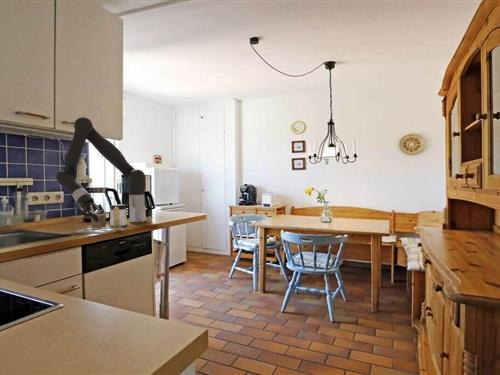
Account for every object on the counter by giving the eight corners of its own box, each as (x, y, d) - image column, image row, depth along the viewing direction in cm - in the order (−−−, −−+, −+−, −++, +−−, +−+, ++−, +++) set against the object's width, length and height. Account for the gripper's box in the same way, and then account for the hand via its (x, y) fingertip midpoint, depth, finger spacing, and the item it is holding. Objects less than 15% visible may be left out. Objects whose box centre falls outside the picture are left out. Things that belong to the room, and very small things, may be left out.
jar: (112, 226, 184) (111, 205, 183) (109, 224, 191) (108, 204, 190) (128, 225, 189) (127, 204, 188) (125, 223, 196) (124, 204, 195)
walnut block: (98, 226, 179) (97, 214, 179) (105, 226, 177) (105, 214, 177) (91, 227, 174) (91, 215, 174) (98, 228, 172) (98, 215, 172)
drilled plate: (88, 230, 172) (88, 228, 172) (114, 231, 167) (114, 229, 167) (76, 232, 164) (76, 230, 164) (103, 233, 159) (103, 231, 159)
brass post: (116, 228, 175) (115, 206, 175) (123, 228, 174) (122, 206, 173) (110, 230, 171) (110, 207, 170) (117, 230, 169) (116, 207, 169)
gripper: (76, 193, 170) (95, 216, 167) (96, 192, 184) (114, 213, 181) (68, 203, 172) (87, 226, 169) (89, 201, 186) (106, 222, 183)
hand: (101, 219), depth 175 cm, fingers closed on walnut block, 5 cm apart
